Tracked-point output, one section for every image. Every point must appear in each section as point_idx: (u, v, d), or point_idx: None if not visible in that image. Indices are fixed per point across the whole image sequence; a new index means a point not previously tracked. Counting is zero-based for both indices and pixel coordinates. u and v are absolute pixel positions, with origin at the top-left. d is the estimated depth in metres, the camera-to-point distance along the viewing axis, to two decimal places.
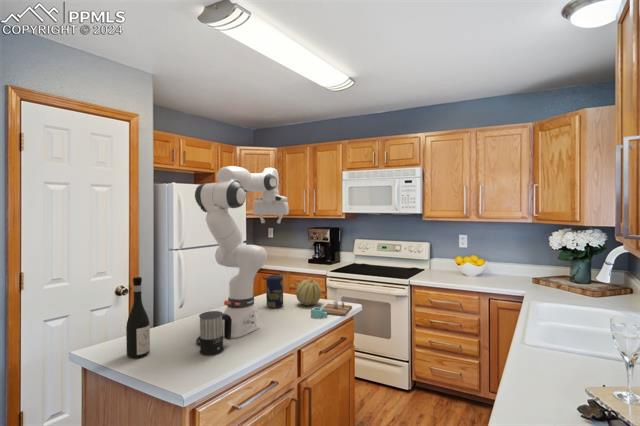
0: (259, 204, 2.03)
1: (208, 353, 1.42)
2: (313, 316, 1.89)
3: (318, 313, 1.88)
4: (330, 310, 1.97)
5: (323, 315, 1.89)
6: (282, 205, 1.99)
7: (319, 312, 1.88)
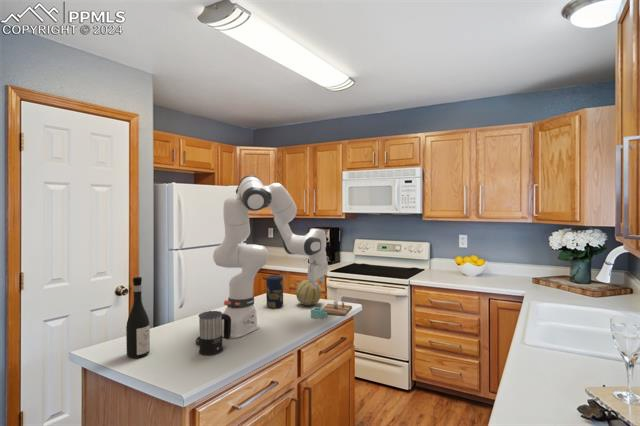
0: (316, 268, 1.84)
1: (207, 353, 1.42)
2: (313, 316, 1.89)
3: (318, 313, 1.88)
4: (330, 310, 1.97)
5: (323, 315, 1.89)
6: (326, 265, 1.97)
7: (319, 312, 1.88)
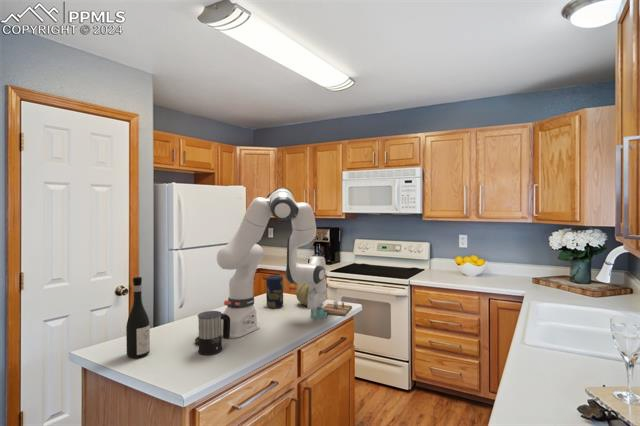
0: (316, 296, 1.84)
1: (206, 353, 1.43)
2: (313, 316, 1.89)
3: (318, 313, 1.88)
4: (330, 310, 1.97)
5: (323, 315, 1.89)
6: (325, 291, 1.97)
7: (319, 312, 1.88)
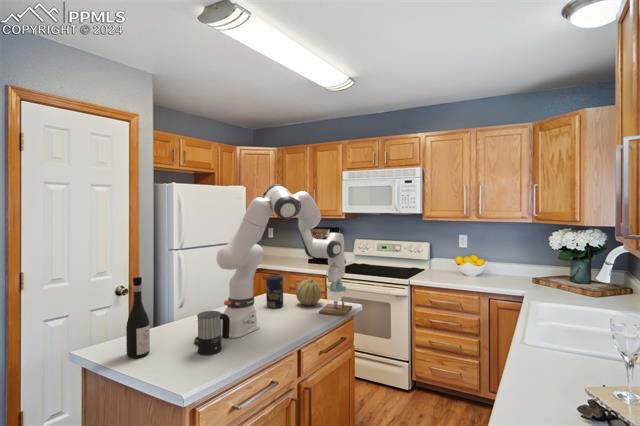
0: (336, 270, 1.94)
1: (206, 353, 1.43)
2: (332, 290, 1.98)
3: (337, 287, 1.97)
4: (330, 310, 1.97)
5: (342, 289, 1.99)
6: (344, 267, 2.07)
7: (338, 286, 1.97)
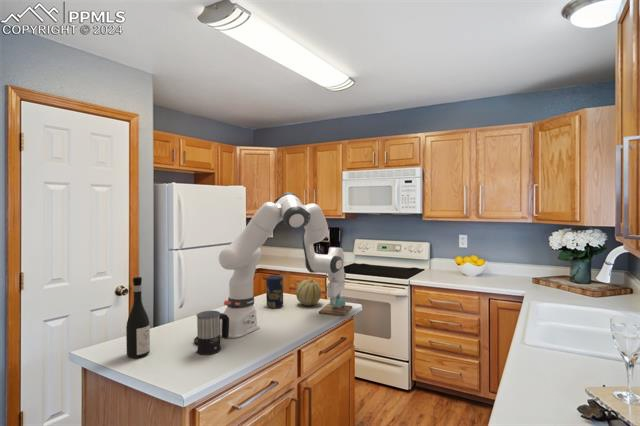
0: (335, 285, 1.94)
1: (205, 352, 1.43)
2: (332, 304, 1.99)
3: (337, 301, 1.98)
4: (330, 310, 1.97)
5: (342, 303, 1.99)
6: (343, 281, 2.07)
7: (338, 300, 1.98)
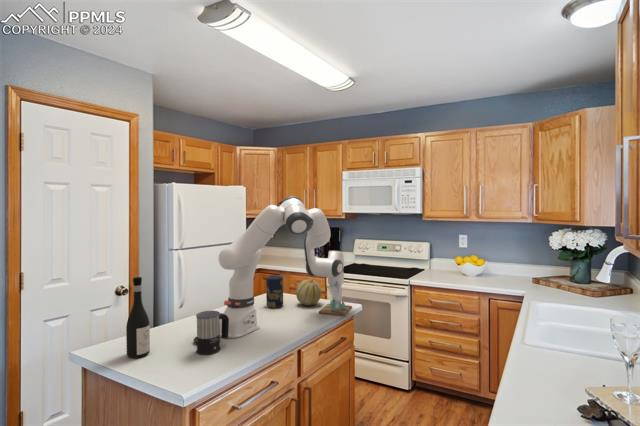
0: None
1: (204, 352, 1.43)
2: (334, 308, 1.99)
3: (339, 305, 1.99)
4: (330, 310, 1.97)
5: (342, 306, 2.01)
6: None
7: (340, 304, 1.99)
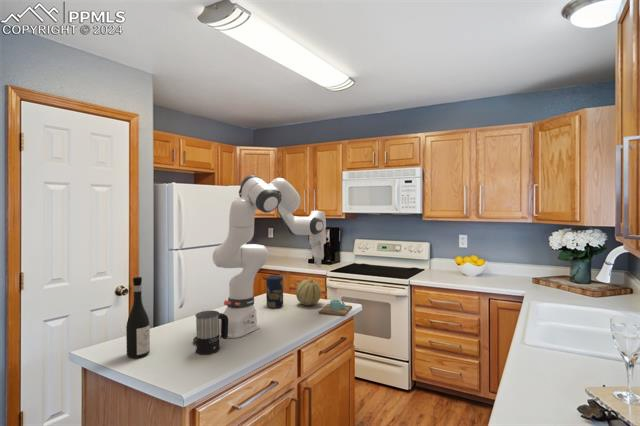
0: None
1: (204, 352, 1.43)
2: (334, 308, 1.99)
3: (339, 305, 1.99)
4: (330, 310, 1.97)
5: (342, 306, 2.01)
6: None
7: (340, 304, 1.99)
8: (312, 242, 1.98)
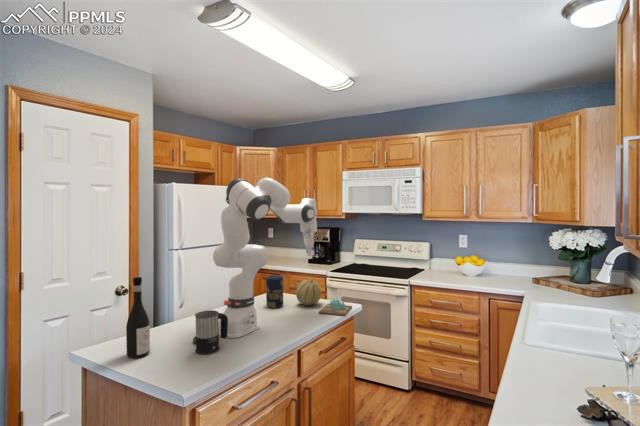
0: None
1: (203, 352, 1.43)
2: (334, 308, 1.99)
3: (339, 305, 1.99)
4: (330, 310, 1.97)
5: (342, 306, 2.01)
6: None
7: (340, 304, 1.99)
8: (302, 230, 1.95)
